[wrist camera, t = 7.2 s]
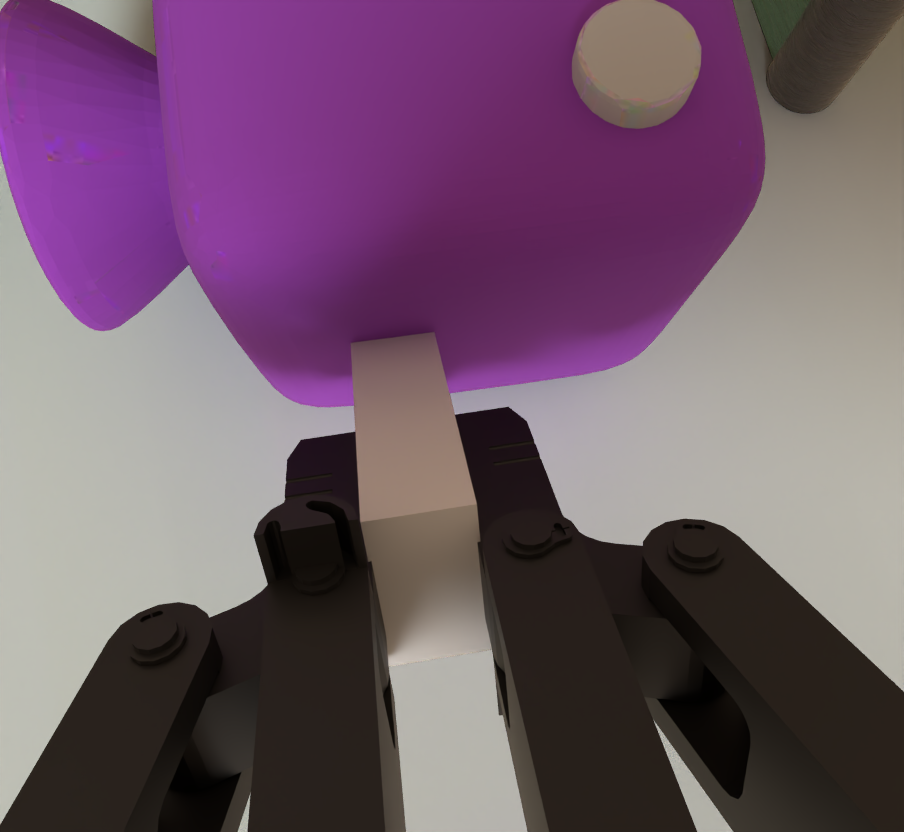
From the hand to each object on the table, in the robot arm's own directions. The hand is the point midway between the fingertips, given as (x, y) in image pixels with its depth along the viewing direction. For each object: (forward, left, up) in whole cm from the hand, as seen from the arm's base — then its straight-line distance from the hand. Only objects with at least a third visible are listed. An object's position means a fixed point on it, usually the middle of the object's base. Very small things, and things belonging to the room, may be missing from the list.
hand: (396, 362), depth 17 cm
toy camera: (0, -4, -4) cm, 6 cm away
